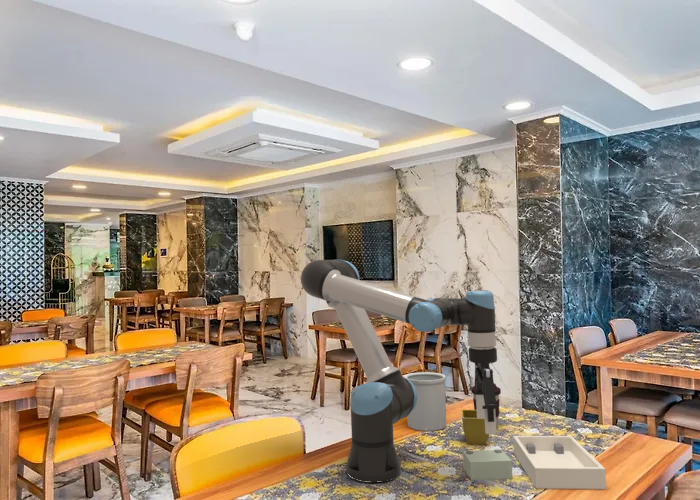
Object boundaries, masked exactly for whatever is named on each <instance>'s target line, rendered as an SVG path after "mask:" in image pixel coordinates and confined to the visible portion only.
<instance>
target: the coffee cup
mask: <svg viewBox="0 0 700 500" xmlns="http://www.w3.org/2000/svg"><path fill="white" fill-rule="evenodd" d="M470 389H471V390H470V391H471V393H472V395H473V398H472V400H473V410H477V409H476V395H477V394H476V393H475V389H474V386H472V387H471V388H470ZM494 389H495V397H496V404H497V408H495V414H496V430H497V429H498V428H499V416H500V395H501V391H502V390H501V388H500V387H499V386H497V385H496V383H494Z"/></svg>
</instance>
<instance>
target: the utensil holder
mask: <svg viewBox="0 0 700 500" xmlns="http://www.w3.org/2000/svg"><path fill="white" fill-rule="evenodd" d="M403 377H405V378H406V379H409V380H410V381H411V382H412V383H413V385H414V386H415V388H416V391H417V403H416V406H415V408H414V410H413V411H412V412H411V413H410V414H409V415H408V416H407V417H406V420H407V426H408V427H409V428H410V429H413V430H416V431H421V432H432V431H440V430H442V429H444V428H446V426H447V403H446V400H447V399H446V398H447V397H446V395H447V394H446V380H447V376H446V375H445V374H443V373H439V372H432V371H430V372H429V371H422V372H412V373H411V372H410V373H407V374H405V375H404V376H403Z"/></svg>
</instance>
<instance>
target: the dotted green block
mask: <svg viewBox="0 0 700 500" xmlns="http://www.w3.org/2000/svg"><path fill="white" fill-rule="evenodd" d="M462 462H463V463H462V466H463V470H464V472H465V474H467V476H468V478H469V479H470V481H491V480H510V479H511V480H513V463H512V462H513V460H512V459H511V458H510V457H509V456H508V454H506V452H505V451H504V450H503V449H481V450H479V449H478V450H462Z"/></svg>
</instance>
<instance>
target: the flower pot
mask: <svg viewBox="0 0 700 500" xmlns="http://www.w3.org/2000/svg"><path fill="white" fill-rule="evenodd" d="M461 421H462V429H463V434H464V437H465V439H466V441H467V443H468V444H469V445H486V444H487V442H488V440H489V438H490V434H486V433H485V418H477V410H474V409H461Z"/></svg>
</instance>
